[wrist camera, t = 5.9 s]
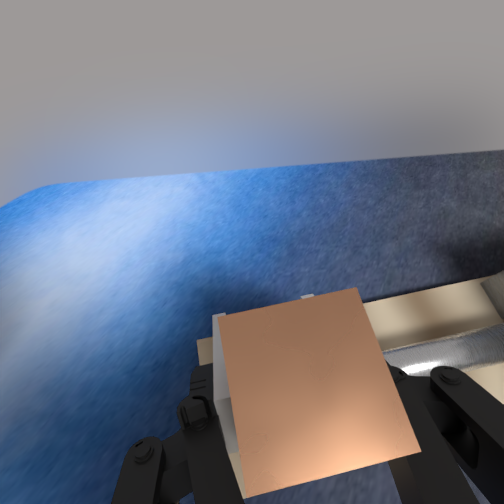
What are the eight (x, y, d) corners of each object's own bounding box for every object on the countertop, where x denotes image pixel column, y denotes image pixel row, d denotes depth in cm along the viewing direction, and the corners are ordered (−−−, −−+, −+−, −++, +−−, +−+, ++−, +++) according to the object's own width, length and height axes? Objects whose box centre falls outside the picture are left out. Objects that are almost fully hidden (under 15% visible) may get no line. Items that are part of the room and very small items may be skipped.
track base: (219, 501, 19) (217, 505, 18) (198, 342, 24) (196, 340, 23) (678, 380, 22) (696, 379, 21) (580, 258, 26) (592, 253, 25)
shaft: (254, 437, 19) (246, 497, 6) (242, 372, 21) (217, 316, 8) (550, 364, 21) (1015, 295, 8) (515, 309, 23) (850, 181, 10)
